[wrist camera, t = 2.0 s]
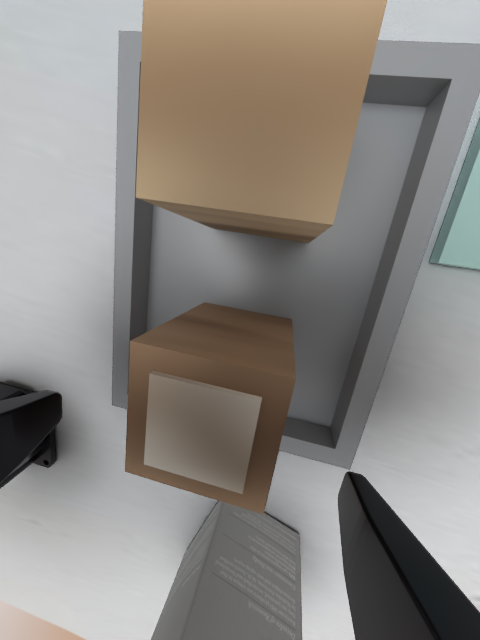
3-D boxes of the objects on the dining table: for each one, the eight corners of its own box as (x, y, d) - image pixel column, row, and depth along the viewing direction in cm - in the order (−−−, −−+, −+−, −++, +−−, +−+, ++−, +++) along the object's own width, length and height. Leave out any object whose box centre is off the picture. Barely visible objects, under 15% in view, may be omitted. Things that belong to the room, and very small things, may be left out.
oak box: (308, 243, 12) (333, 224, 6) (213, 228, 13) (135, 197, 6) (334, 127, 11) (405, -73, 4) (226, 118, 12) (146, -66, 5)
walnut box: (274, 398, 15) (262, 520, 8) (195, 379, 15) (121, 476, 9) (292, 319, 13) (296, 382, 7) (204, 302, 14) (125, 343, 7)
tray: (340, 437, 15) (350, 469, 13) (135, 384, 17) (111, 405, 15) (449, 92, 11) (496, 44, 8) (150, 73, 13) (118, 30, 10)
